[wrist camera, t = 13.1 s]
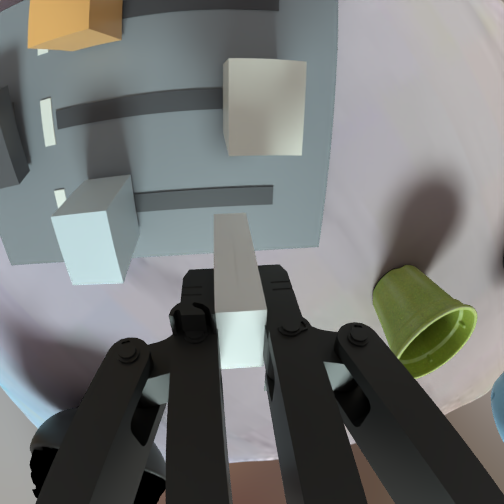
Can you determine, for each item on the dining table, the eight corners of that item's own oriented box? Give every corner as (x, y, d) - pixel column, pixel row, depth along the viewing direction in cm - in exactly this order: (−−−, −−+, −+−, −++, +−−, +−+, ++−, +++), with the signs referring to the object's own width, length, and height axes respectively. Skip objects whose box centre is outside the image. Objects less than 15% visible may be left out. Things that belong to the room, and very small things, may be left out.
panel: (320, -19, 14) (342, -33, 11) (306, 226, 24) (321, 252, 21) (-7, 29, 11) (-35, 28, 8) (26, 245, 21) (7, 270, 18)
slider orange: (124, -21, 10) (95, -50, 6) (121, 40, 12) (88, 28, 8) (74, -9, 10) (33, -28, 5) (72, 51, 12) (27, 48, 8)
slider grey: (130, 174, 16) (105, 210, 12) (139, 234, 19) (123, 283, 14) (85, 180, 16) (50, 216, 12) (97, 237, 18) (73, 285, 14)
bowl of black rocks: (171, 445, 44) (175, 541, 28) (65, 429, 40) (54, 519, 24) (167, 389, 34) (169, 536, 18) (25, 366, 30) (-8, 490, 14)
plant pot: (397, 235, 26) (451, 295, 18) (444, 266, 29) (489, 318, 22) (339, 309, 30) (372, 377, 22) (394, 326, 33) (426, 382, 26)
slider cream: (278, 65, 14) (306, 61, 10) (276, 133, 16) (301, 155, 12) (223, 64, 14) (228, 58, 10) (223, 133, 16) (228, 156, 12)
